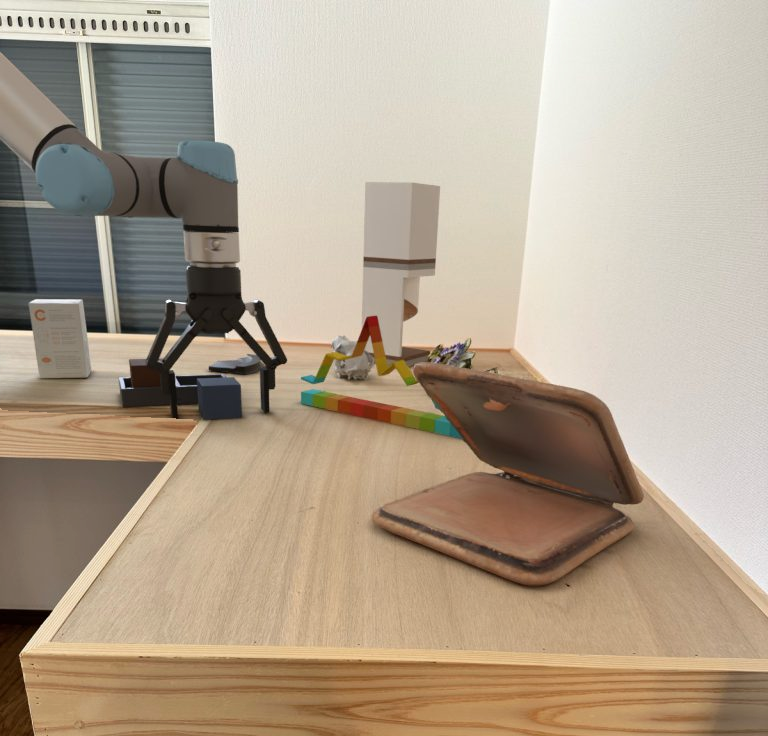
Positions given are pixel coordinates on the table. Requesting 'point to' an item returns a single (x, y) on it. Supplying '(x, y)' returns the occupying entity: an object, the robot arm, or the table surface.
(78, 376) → the small box
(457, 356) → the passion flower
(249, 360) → the curved wedge
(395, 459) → the table surface
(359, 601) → the table surface
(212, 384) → the pad
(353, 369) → the crumpled paper
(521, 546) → the case
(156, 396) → the holder
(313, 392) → the multicoloured zigzag triangular frame
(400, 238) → the notched striped pillar
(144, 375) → the brown rectangular block
